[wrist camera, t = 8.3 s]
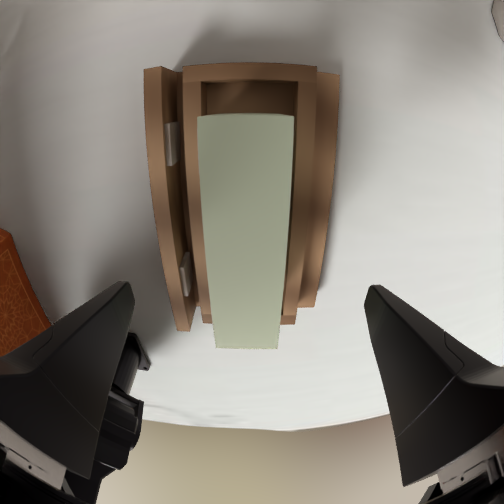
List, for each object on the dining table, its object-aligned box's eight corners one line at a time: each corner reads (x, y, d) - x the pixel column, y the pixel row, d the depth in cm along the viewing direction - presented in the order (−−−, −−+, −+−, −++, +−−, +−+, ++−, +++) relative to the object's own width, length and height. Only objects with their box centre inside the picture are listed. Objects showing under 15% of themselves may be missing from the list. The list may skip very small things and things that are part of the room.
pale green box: (271, 278, 21) (277, 348, 15) (223, 277, 21) (212, 347, 15) (278, 113, 15) (294, 116, 9) (217, 113, 15) (191, 117, 9)
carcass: (311, 296, 24) (320, 332, 20) (188, 294, 24) (177, 330, 20) (333, 77, 15) (356, 69, 11) (168, 76, 15) (143, 69, 11)
